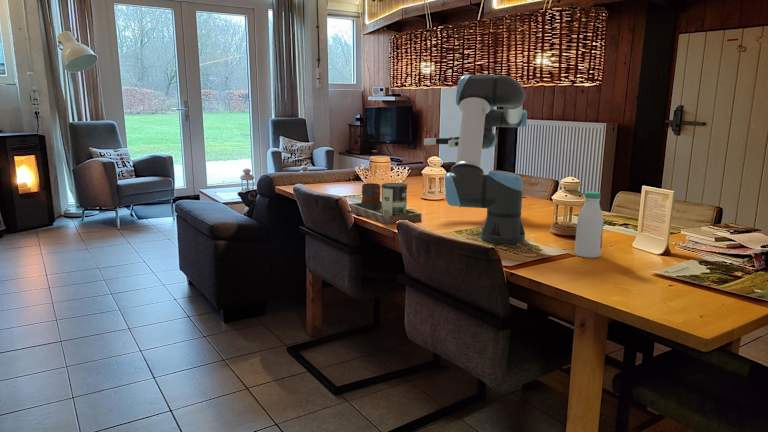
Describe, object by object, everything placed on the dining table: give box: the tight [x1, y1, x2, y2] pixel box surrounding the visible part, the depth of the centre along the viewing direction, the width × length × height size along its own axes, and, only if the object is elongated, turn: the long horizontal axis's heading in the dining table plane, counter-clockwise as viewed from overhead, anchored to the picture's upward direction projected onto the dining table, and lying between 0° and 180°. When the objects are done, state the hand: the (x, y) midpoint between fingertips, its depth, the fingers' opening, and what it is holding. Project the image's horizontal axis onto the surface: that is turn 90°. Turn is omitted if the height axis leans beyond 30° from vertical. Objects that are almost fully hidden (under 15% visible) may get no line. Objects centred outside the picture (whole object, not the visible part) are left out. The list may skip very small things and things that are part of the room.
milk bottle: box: [574, 190, 604, 259], centre depth 173 cm, size 8×8×20 cm
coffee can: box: [381, 182, 408, 216], centre depth 223 cm, size 10×10×14 cm
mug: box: [360, 182, 382, 211], centre depth 237 cm, size 9×12×12 cm
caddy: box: [348, 200, 422, 226], centre depth 231 cm, size 32×16×3 cm, turn 32°
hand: (436, 142), depth 230 cm, fingers open, 13 cm apart
